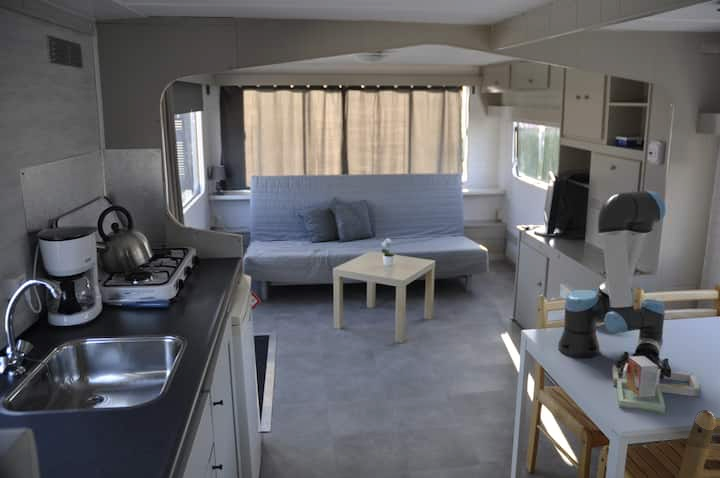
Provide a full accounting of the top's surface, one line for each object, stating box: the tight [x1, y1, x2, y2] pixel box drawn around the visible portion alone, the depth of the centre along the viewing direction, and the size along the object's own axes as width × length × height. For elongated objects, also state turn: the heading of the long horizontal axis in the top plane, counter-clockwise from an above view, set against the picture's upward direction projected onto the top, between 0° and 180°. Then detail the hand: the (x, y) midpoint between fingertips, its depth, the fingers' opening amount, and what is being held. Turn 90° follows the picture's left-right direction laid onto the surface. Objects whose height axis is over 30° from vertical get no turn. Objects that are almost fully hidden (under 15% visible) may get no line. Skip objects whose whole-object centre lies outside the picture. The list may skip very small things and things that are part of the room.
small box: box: [626, 356, 658, 397], centre depth 194 cm, size 8×6×10 cm
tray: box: [616, 380, 666, 415], centre depth 196 cm, size 13×15×2 cm
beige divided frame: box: [611, 364, 701, 398], centre depth 207 cm, size 26×12×3 cm, turn 70°
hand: (640, 377), depth 190 cm, fingers closed on small box, 9 cm apart
